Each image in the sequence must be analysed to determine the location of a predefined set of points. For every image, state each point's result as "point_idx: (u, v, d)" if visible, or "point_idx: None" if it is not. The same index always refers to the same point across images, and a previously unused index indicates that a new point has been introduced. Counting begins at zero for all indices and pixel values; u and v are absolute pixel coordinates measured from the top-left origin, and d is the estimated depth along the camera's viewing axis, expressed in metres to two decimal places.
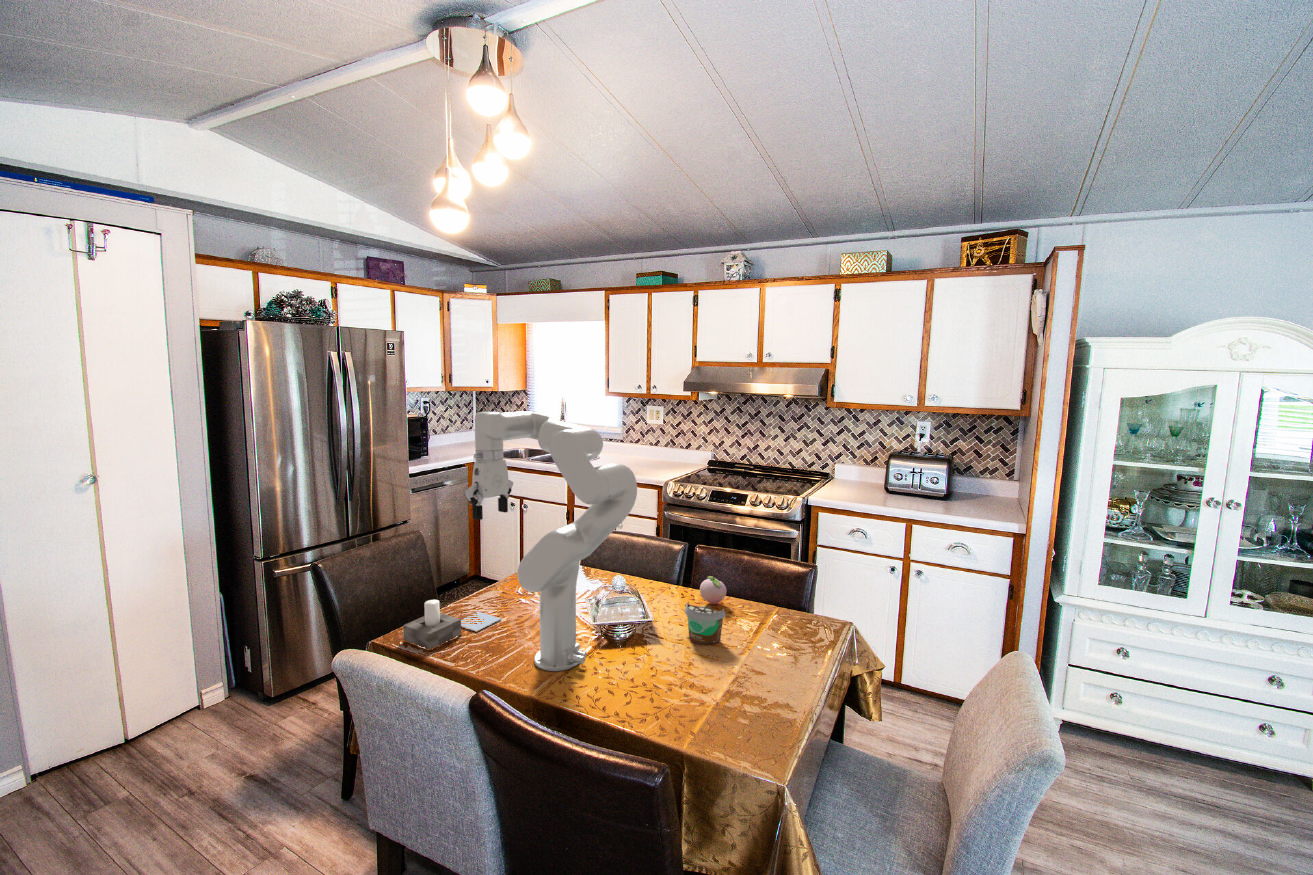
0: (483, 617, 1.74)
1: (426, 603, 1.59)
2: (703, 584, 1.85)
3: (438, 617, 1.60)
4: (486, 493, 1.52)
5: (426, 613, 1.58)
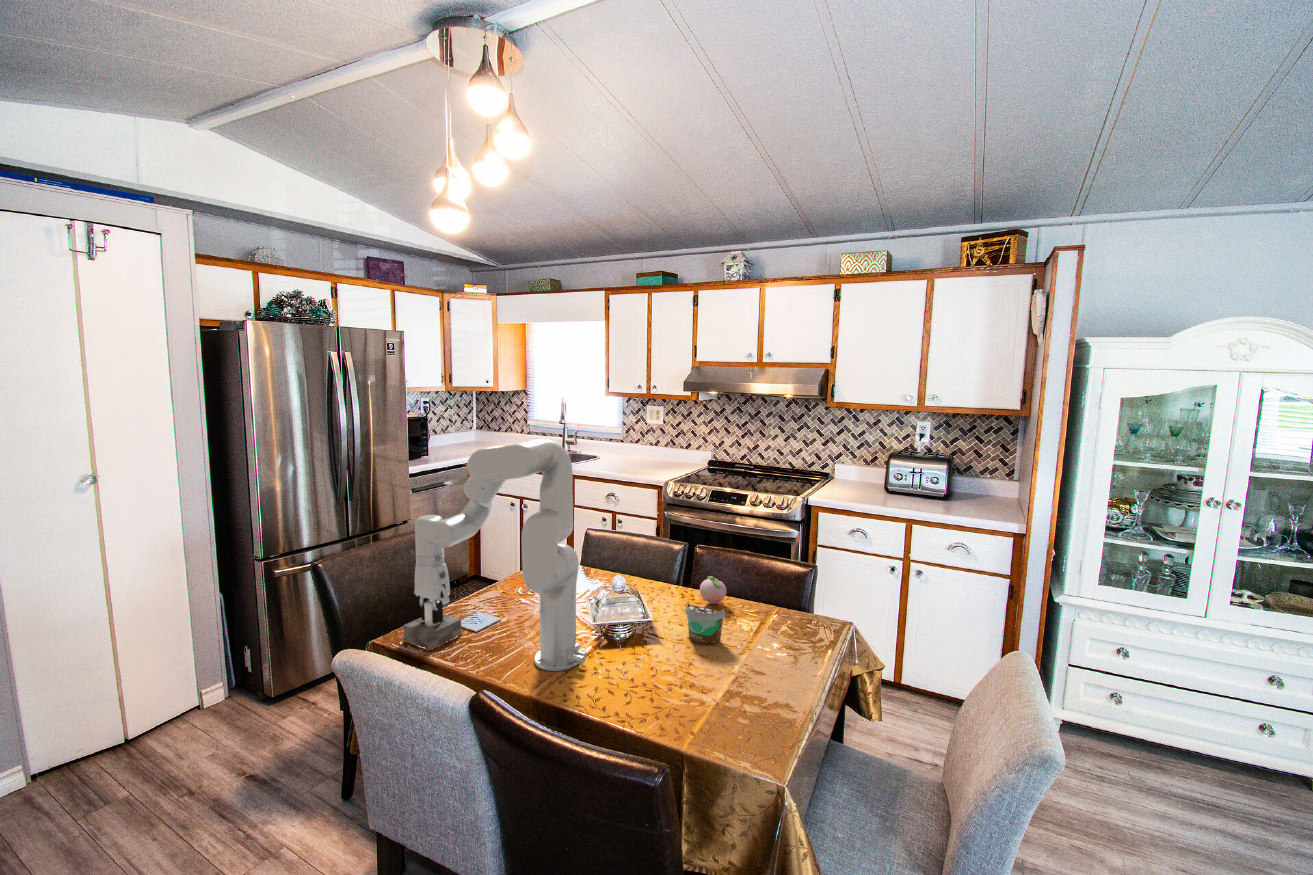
0: (483, 617, 1.74)
1: (426, 603, 1.59)
2: (703, 584, 1.85)
3: None
4: None
5: (426, 613, 1.58)
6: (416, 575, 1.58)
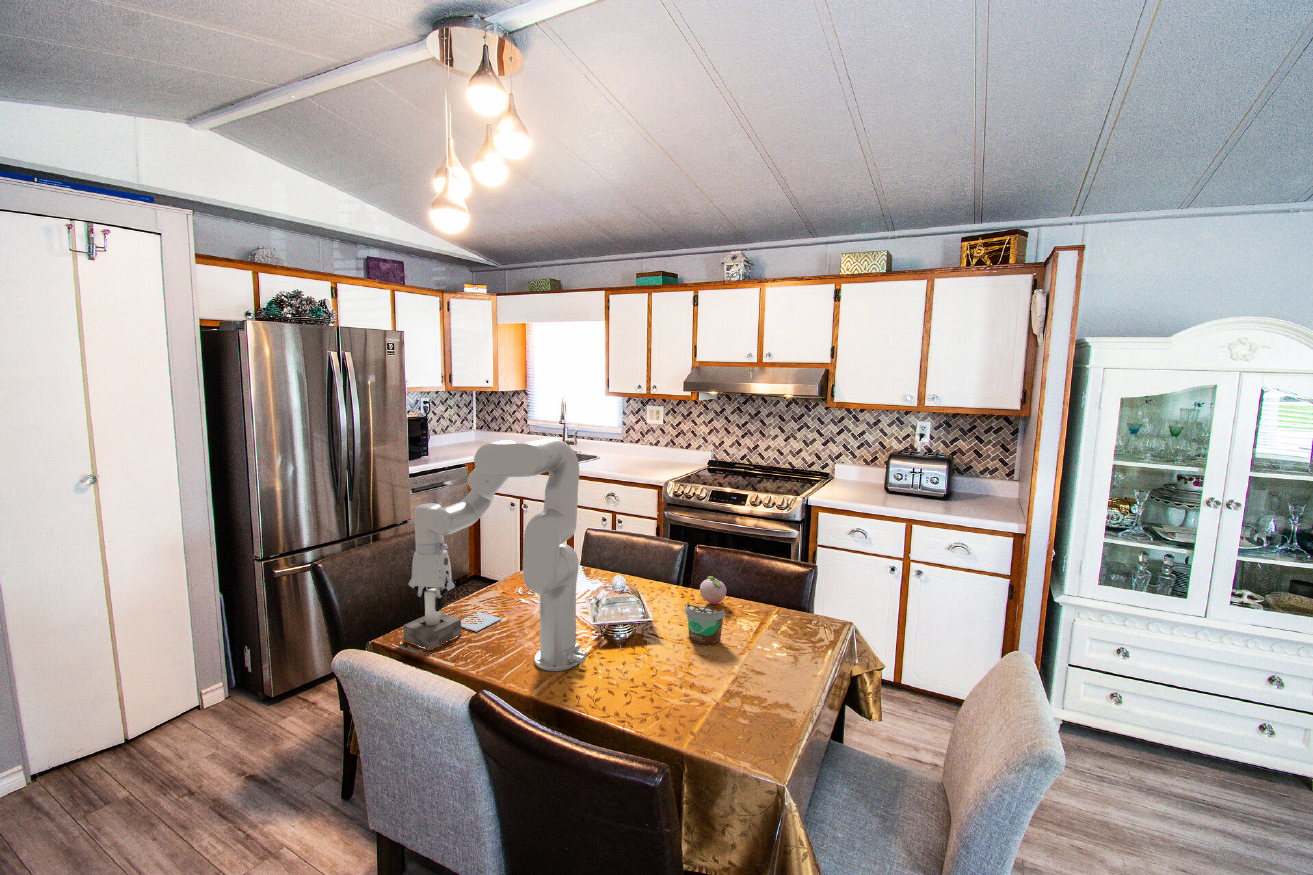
0: (483, 617, 1.74)
1: (427, 592, 1.58)
2: (703, 584, 1.85)
3: None
4: None
5: (428, 602, 1.58)
6: (415, 565, 1.57)
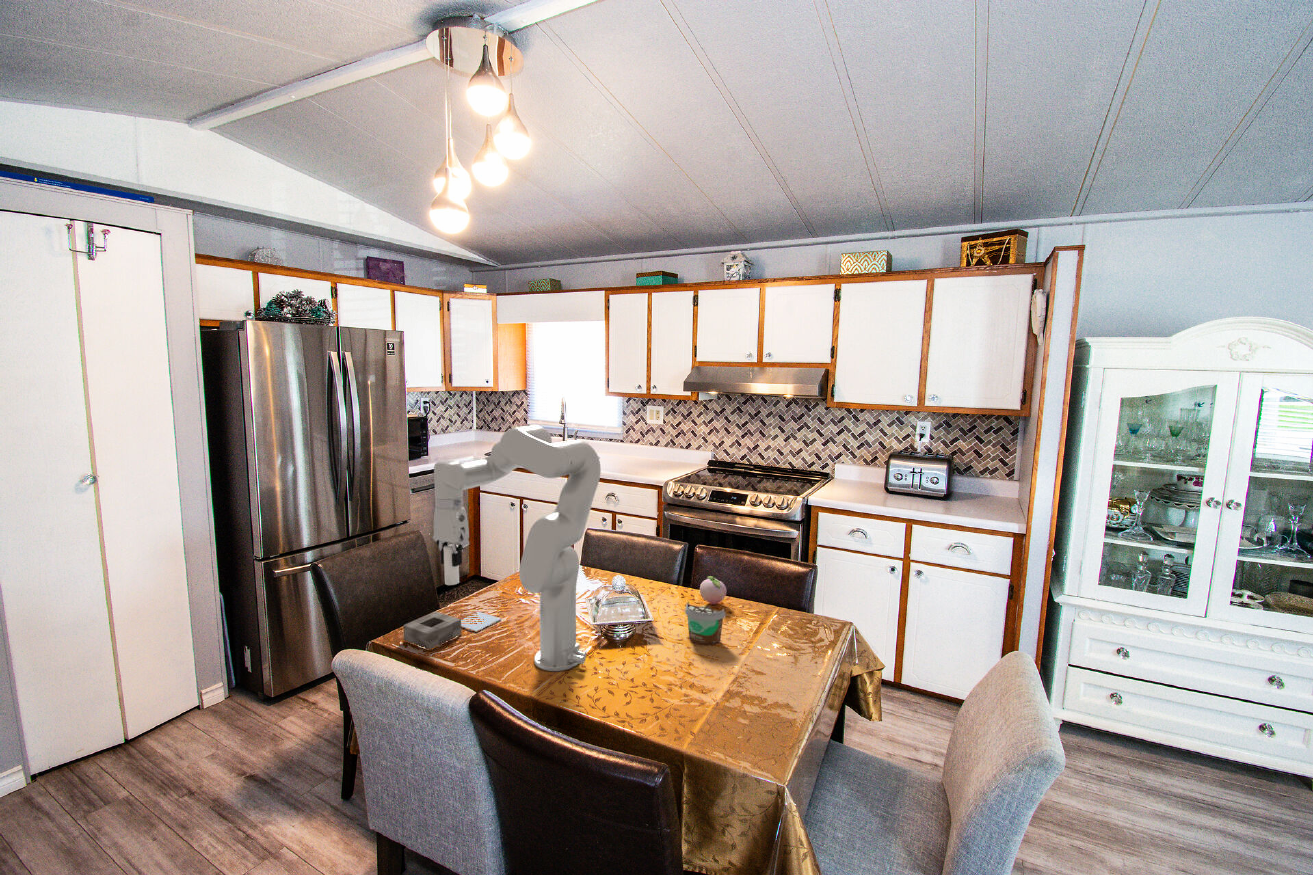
0: (483, 617, 1.74)
1: (445, 547, 1.62)
2: (703, 584, 1.85)
3: None
4: None
5: (445, 556, 1.61)
6: (435, 519, 1.61)
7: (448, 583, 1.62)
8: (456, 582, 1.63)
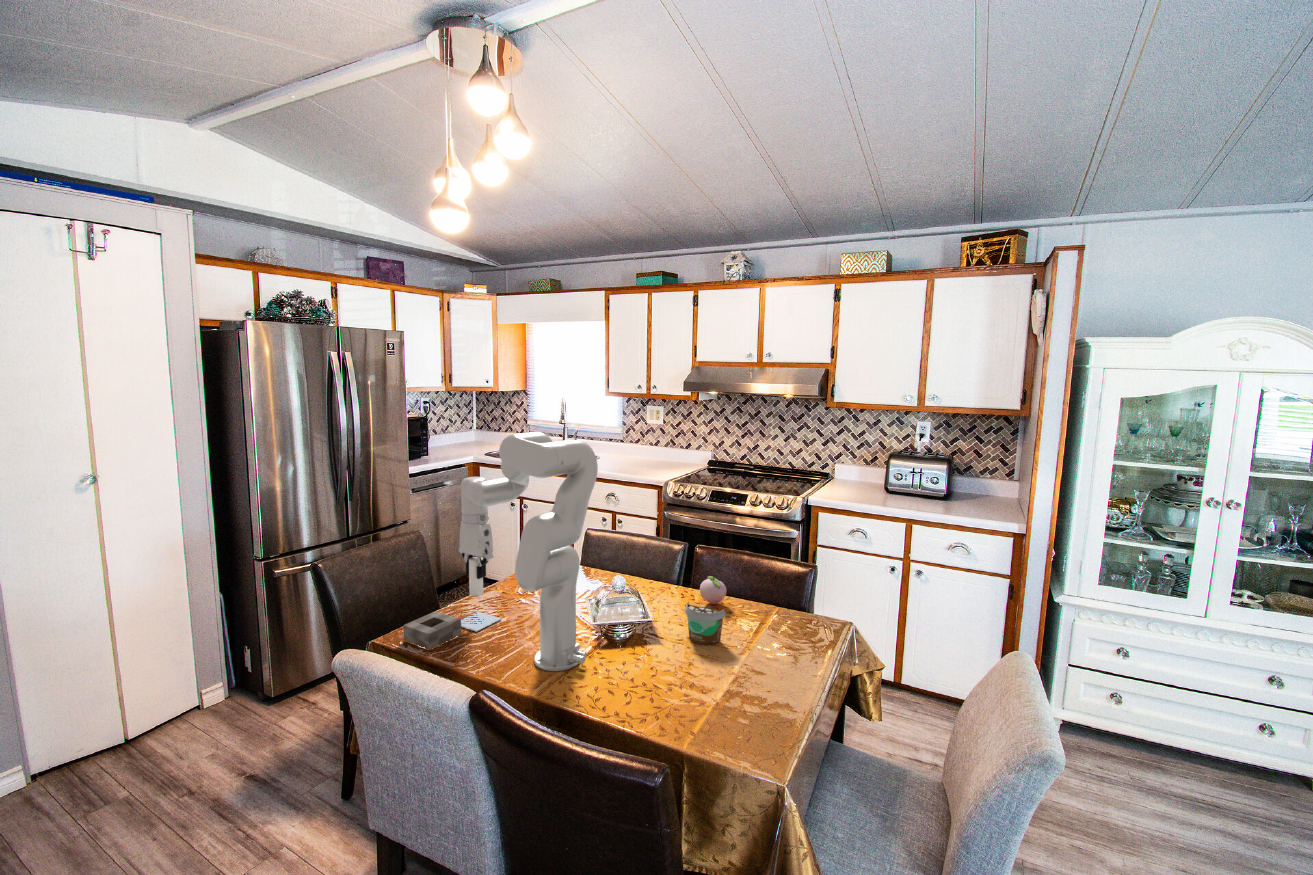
0: (483, 617, 1.74)
1: (470, 559, 1.69)
2: (703, 584, 1.85)
3: None
4: None
5: (470, 569, 1.68)
6: (461, 533, 1.68)
7: (473, 594, 1.69)
8: (480, 593, 1.70)
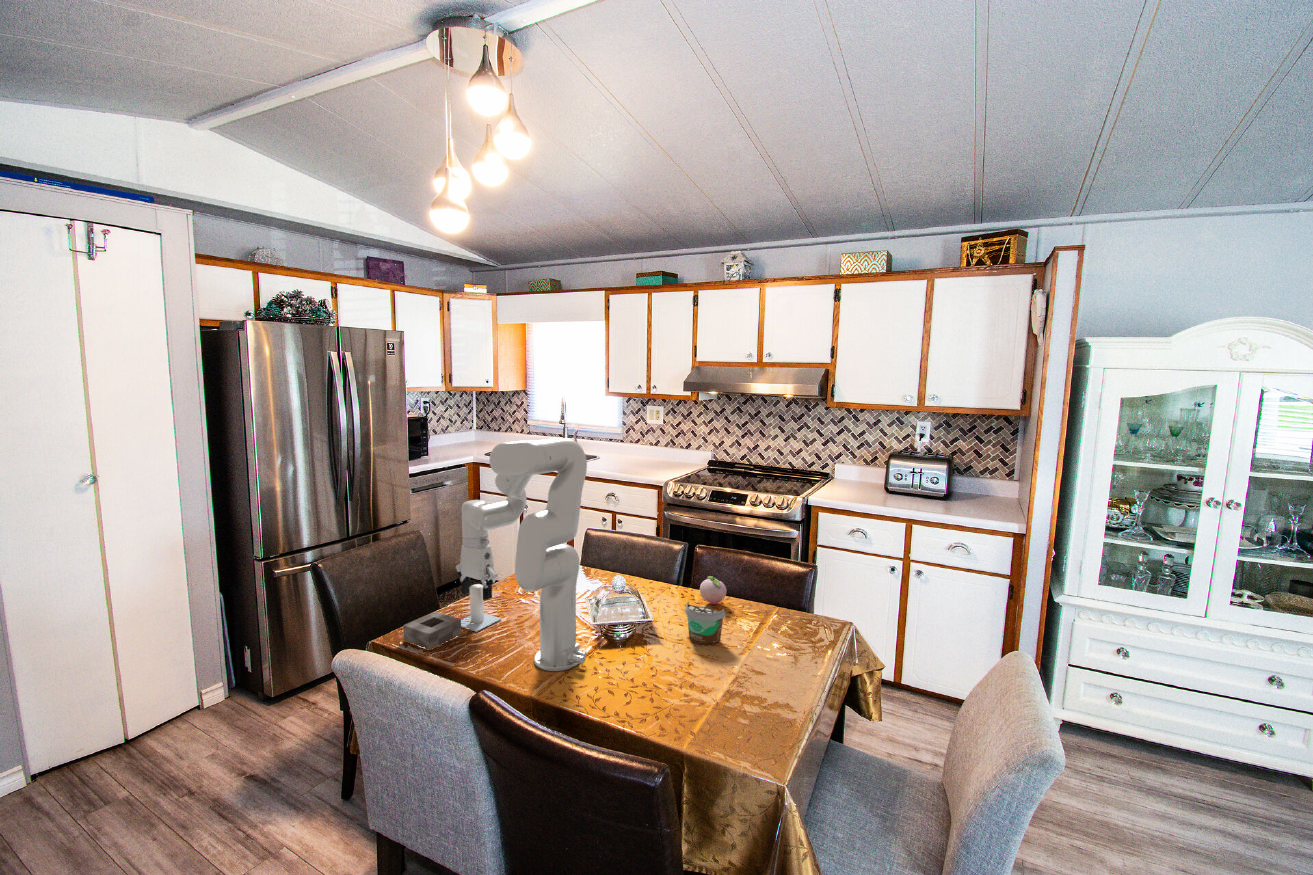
0: None
1: (471, 587, 1.69)
2: (703, 584, 1.85)
3: (482, 600, 1.70)
4: None
5: (471, 597, 1.69)
6: (462, 556, 1.69)
7: (473, 622, 1.69)
8: (481, 621, 1.70)
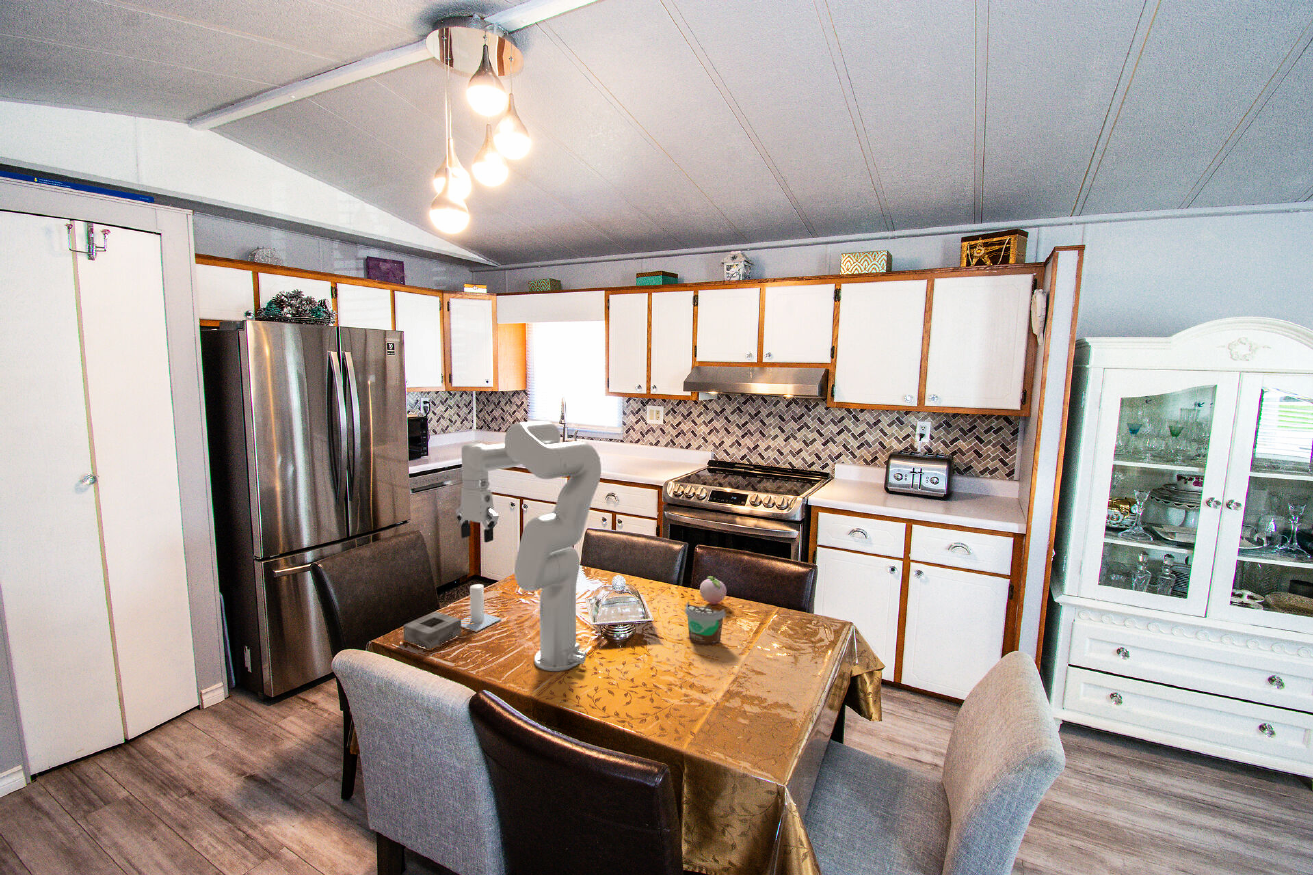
0: None
1: (471, 587, 1.69)
2: (703, 584, 1.85)
3: (482, 601, 1.70)
4: None
5: (471, 597, 1.69)
6: (462, 500, 1.68)
7: (473, 622, 1.69)
8: (481, 621, 1.70)
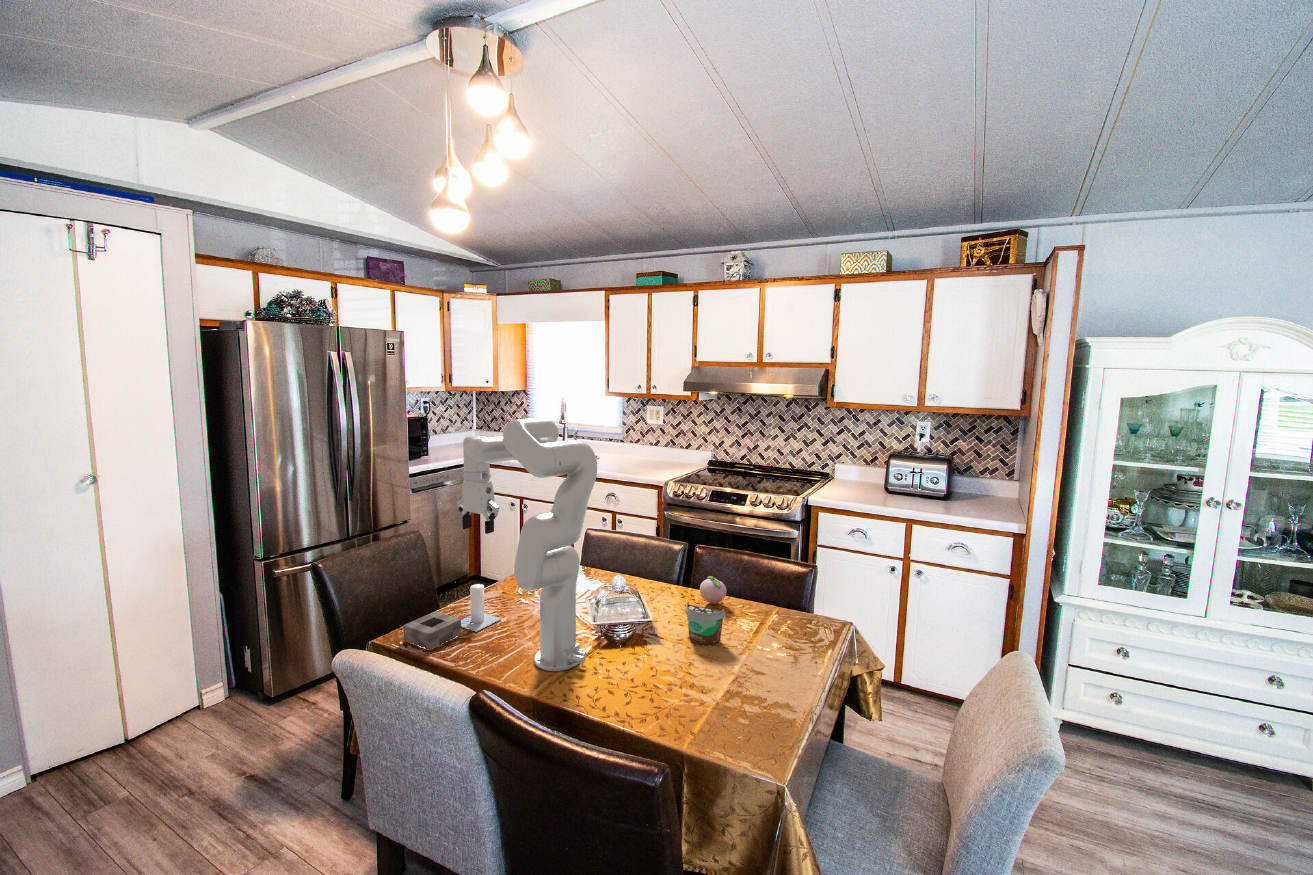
0: None
1: (472, 587, 1.69)
2: (703, 584, 1.85)
3: (483, 600, 1.70)
4: None
5: (472, 596, 1.69)
6: (464, 491, 1.70)
7: (473, 622, 1.69)
8: (481, 621, 1.70)
